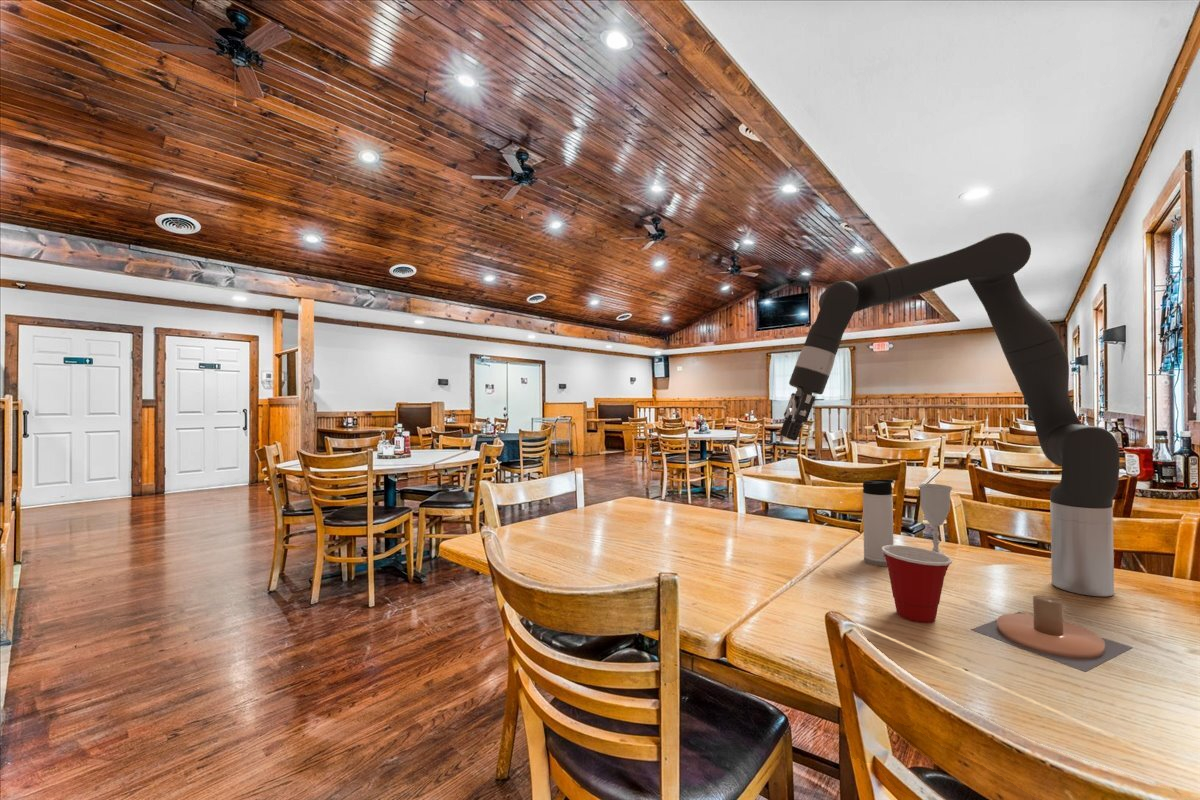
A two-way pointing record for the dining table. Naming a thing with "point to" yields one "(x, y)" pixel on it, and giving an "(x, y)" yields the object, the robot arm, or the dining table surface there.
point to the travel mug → (877, 520)
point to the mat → (1079, 663)
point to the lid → (1050, 631)
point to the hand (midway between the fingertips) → (787, 437)
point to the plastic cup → (916, 580)
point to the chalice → (935, 507)
